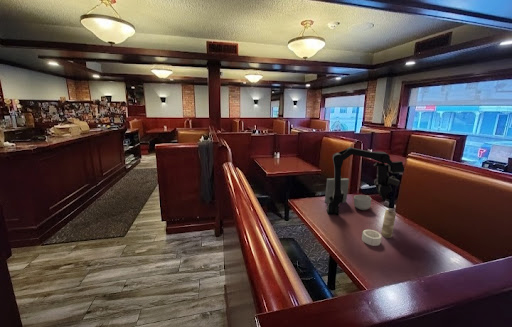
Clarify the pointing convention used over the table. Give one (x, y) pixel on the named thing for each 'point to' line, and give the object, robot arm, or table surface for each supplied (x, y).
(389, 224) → the pepper mill
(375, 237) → the socket
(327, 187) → the hip flask
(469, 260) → the table surface
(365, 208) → the teacup
